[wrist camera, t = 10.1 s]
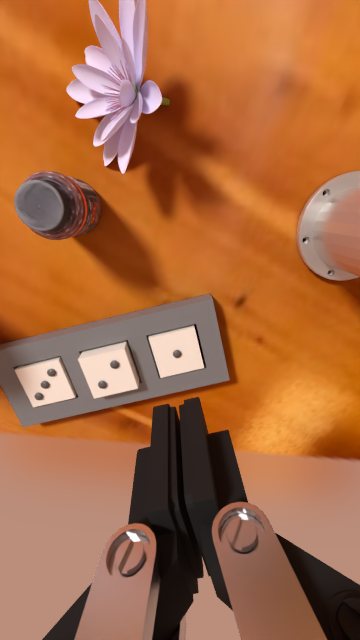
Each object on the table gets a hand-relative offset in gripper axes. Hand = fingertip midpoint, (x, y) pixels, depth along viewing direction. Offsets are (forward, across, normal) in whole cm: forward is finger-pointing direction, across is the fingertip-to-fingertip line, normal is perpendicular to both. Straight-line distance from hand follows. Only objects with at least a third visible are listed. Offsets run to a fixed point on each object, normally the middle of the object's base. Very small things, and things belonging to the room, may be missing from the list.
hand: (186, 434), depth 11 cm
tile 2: (+27, +11, +10) cm, 31 cm away
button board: (+29, +11, +10) cm, 33 cm away
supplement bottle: (+29, +9, -10) cm, 32 cm away
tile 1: (+29, +2, +10) cm, 30 cm away
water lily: (+29, +1, -19) cm, 35 cm away
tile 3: (+29, +20, +10) cm, 36 cm away
